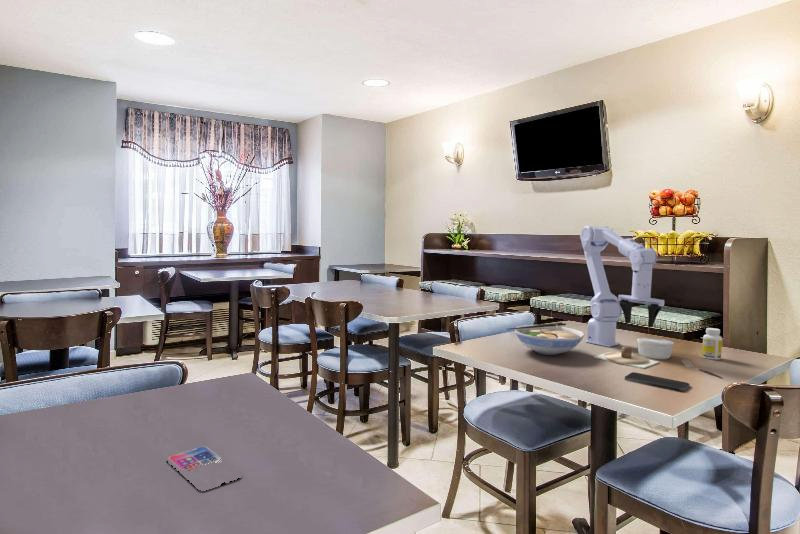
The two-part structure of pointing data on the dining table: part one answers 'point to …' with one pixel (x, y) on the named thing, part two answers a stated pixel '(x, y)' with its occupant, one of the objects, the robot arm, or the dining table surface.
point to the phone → (657, 382)
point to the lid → (626, 357)
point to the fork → (700, 369)
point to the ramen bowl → (549, 338)
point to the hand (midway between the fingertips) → (639, 324)
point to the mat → (629, 364)
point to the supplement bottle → (712, 344)
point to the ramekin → (655, 348)
